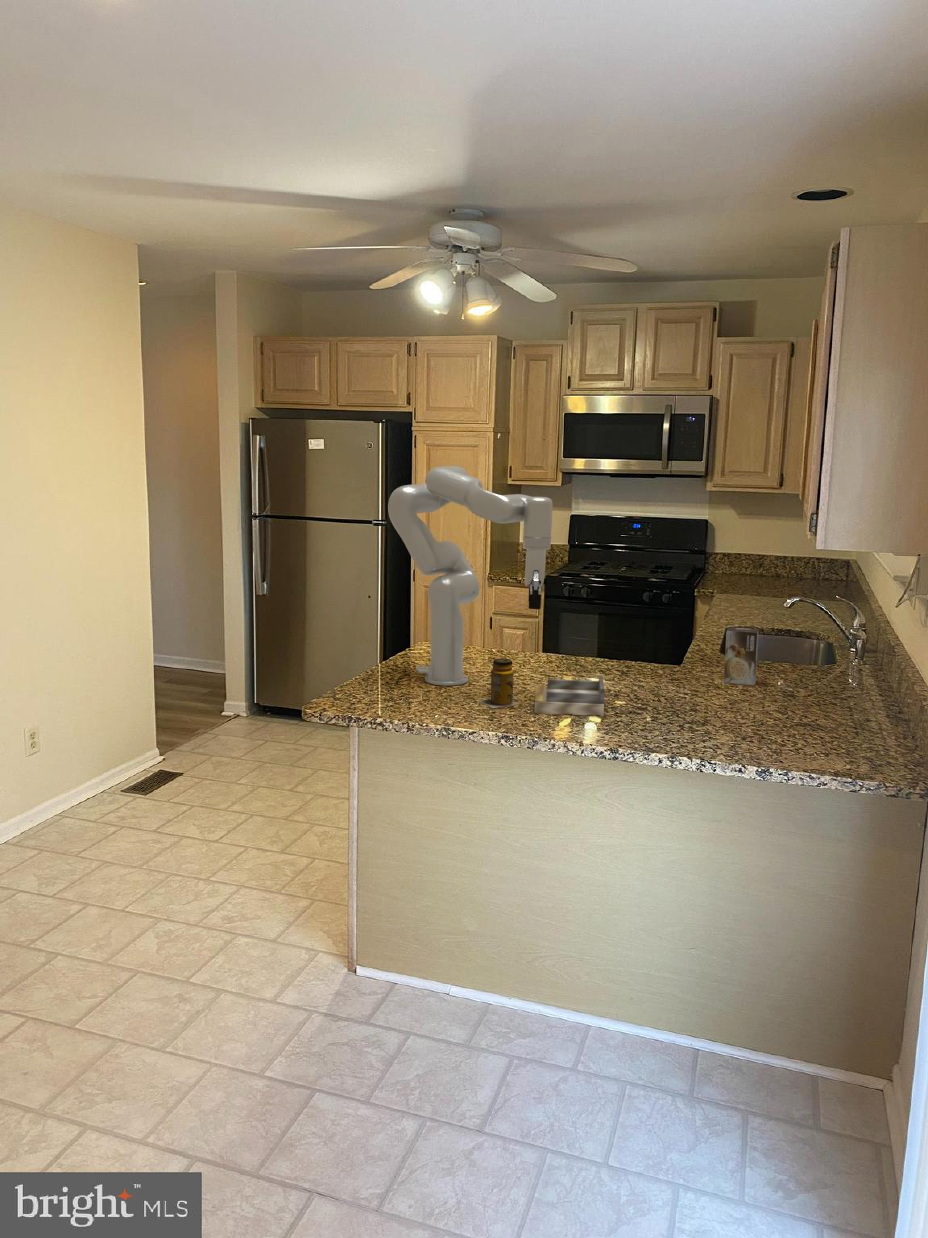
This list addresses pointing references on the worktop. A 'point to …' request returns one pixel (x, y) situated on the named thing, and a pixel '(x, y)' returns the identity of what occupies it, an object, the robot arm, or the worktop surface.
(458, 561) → the robot arm
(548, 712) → the dock
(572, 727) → the worktop surface
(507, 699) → the condiment
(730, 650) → the coffee box
